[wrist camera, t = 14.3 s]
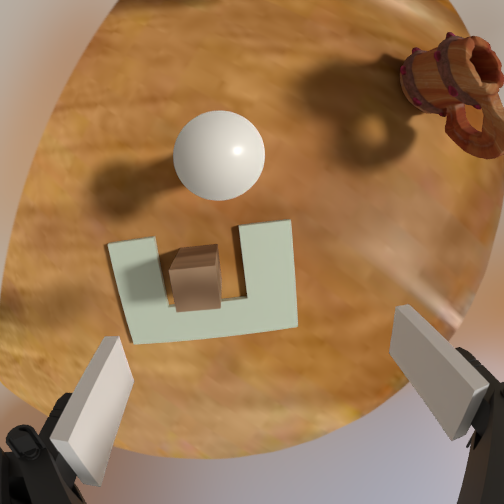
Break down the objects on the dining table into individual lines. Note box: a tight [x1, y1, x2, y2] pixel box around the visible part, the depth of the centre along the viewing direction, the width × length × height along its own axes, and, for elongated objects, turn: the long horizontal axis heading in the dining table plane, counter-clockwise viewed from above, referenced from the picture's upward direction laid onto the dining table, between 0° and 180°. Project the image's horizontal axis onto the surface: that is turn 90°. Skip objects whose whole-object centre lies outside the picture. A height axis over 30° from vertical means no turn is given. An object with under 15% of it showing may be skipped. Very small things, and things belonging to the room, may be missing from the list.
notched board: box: [108, 219, 298, 344], centre depth 39 cm, size 14×22×1 cm, turn 96°
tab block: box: [169, 244, 222, 312], centre depth 34 cm, size 4×4×8 cm
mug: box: [400, 32, 504, 159], centre depth 27 cm, size 15×8×15 cm, turn 22°
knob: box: [173, 111, 265, 201], centre depth 29 cm, size 7×7×12 cm
